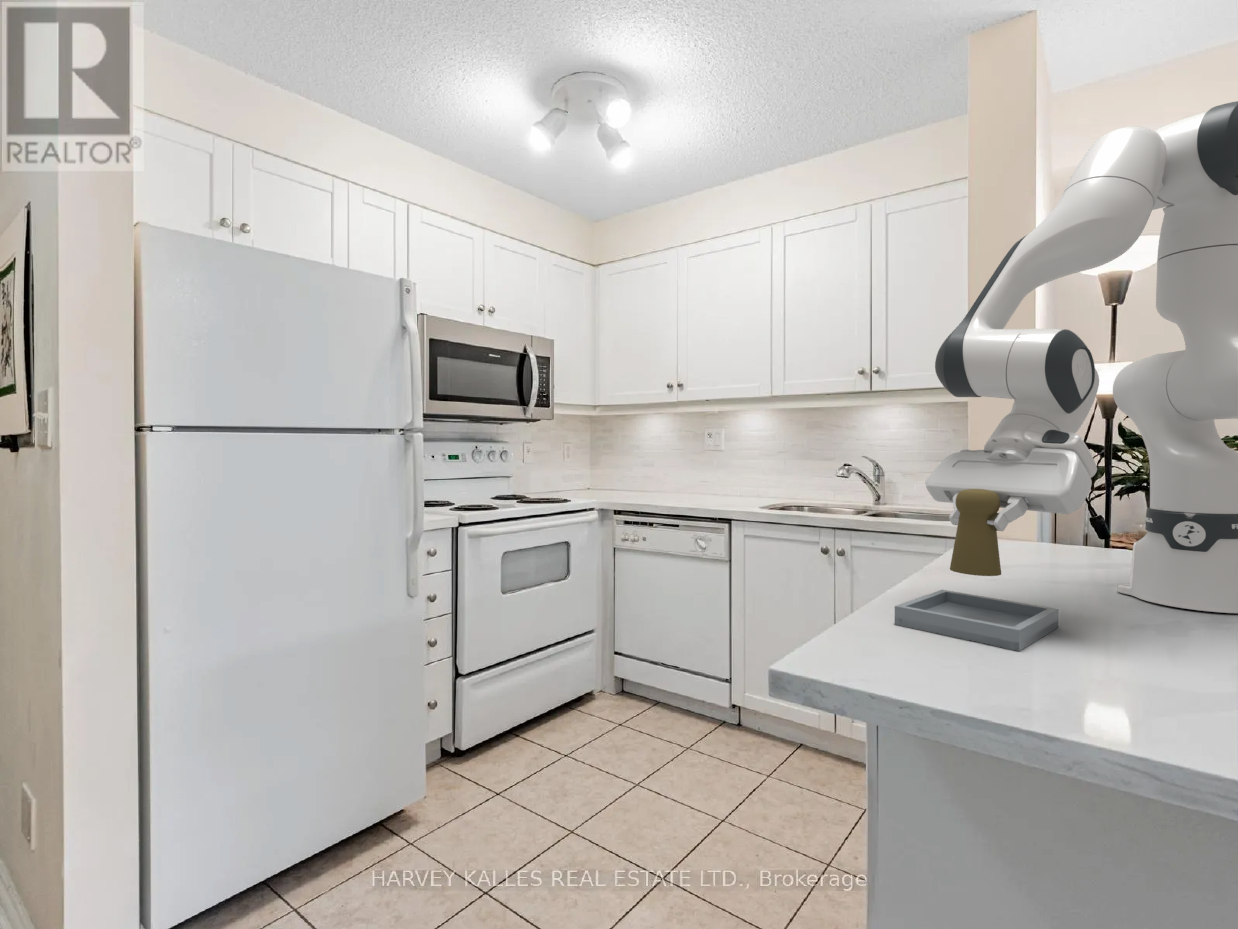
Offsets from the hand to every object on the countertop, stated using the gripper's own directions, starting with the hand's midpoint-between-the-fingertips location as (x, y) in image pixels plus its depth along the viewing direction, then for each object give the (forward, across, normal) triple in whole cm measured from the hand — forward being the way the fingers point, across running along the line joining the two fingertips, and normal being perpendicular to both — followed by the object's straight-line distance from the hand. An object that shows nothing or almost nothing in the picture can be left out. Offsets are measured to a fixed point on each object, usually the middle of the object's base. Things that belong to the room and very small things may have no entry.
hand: (974, 525), depth 86 cm
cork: (+4, 0, +5) cm, 6 cm away
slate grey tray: (+9, 0, +10) cm, 14 cm away
